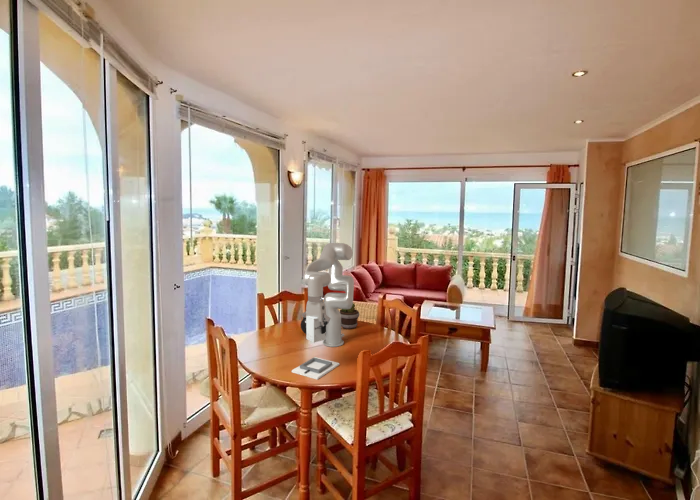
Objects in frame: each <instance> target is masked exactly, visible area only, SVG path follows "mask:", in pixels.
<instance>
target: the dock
mask: <svg viewBox="0 0 700 500" xmlns="http://www.w3.org/2000/svg"><path fill="white" fill-rule="evenodd" d="M339 366H340V363H339V362H338V361H333V360H329V359H325V358H321V357H316V356H314V357H312V358H310V359H308V360H307V361H305V362H303V363H302V364H299V366H297V367H295V368H293V369H292V370H291V373H293V374H297V375H301V376H304V377H307V378H310V379H314V380H320V379H321V378H323V377H324V376H325V375H326V374H328V373H330V372H331V371H332V370H334V369H335V368H337V367H339Z"/></svg>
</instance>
